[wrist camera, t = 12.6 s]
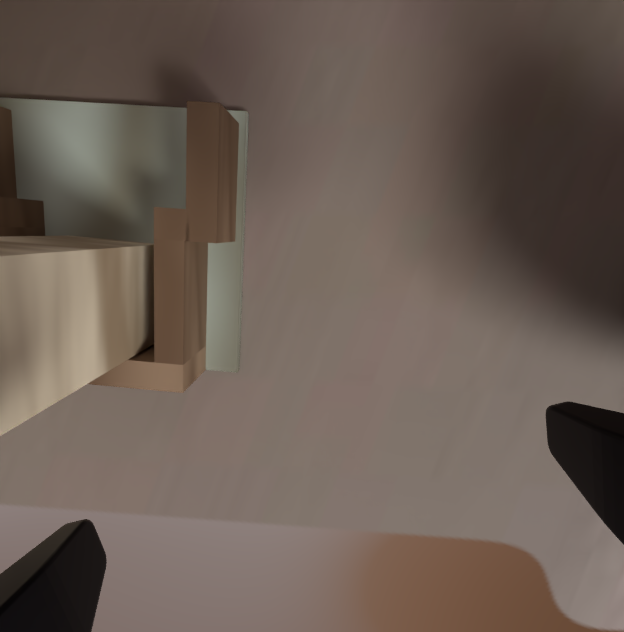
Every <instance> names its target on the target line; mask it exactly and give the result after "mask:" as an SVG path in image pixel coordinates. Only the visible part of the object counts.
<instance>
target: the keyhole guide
mask: <svg viewBox="0 0 624 632" xmlns="http://www.w3.org/2000/svg"><path fill="white" fill-rule="evenodd" d="M247 142H248V113H247V111H232V110H226V109H225V108H224V107H223V106H222V105H221V104H220V103H215V102H196V101H187V108H179V107H161V106H143V105H125V104H107V103H90V102H72V101H54V100H36V99H18V98H0V237H6V236H79V237H90V238H101V239H112V240H123V241H133V242H144V243H154V344H153V345H151V346H150V347H148V348H146V349H145V350H143V351H141V352H140V353H138V354H136V355H135V356H133V357H131V358H130V359H128V360H126V361H125V362H123V363H121V364H120V365H118V366H116V367H115V368H113V369H111V370H110V371H108V372H106V373H105V374H103V375H101V376H100V377H98V378H96V379H95V380H93V381H91V382H90V383H88V384H93V385H104V386H115V387H126V388H136V389H147V390H158V391H169V392H180V393H183V392H184V391H185V390H186V389H187V388H188V387H189V386H190V385H191V384H192V383H193V382H194V381H195V380H196V379H197V378H198V377H199V376H200V375H201V374H202V373H203V372H204V371H205V370H214V371H226V372H238V371H239V362H240V334H241V307H242V279H243V252H244V224H245V197H246V169H247Z"/></svg>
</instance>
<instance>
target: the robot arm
mask: <svg viewBox="0 0 624 632" xmlns="http://www.w3.org/2000/svg"><path fill="white" fill-rule="evenodd" d="M546 426H547V439H548V446H549V449H550V451H551V453H552V455H553V456H554V458H555V459H556V461H557V462H558V463H559V465H560V466H561V467H562V468H563V470H564V471H565V472H566V474H567V475H568V476H569V478H570V479H571V480H572V482H573V483H574V484H575V486H576V487H577V488H578V490H579V491H580V492H581V494H582V495H583V496H584V497H585V499H586V500H587V501H588V503H589V504H590V505H591V507H592V508H593V509H594V511H595V512H596V513H597V514H598V516H599V517H600V518H601V519H602V521H603V522H604V523H605V524H606V525H607V527H608V528H609V529H610V530H611V531H612V532H613V533H614V534H615V536H616V537H617V538H618V539H619V540H620V541H621V542H622V543H623V544H624V413H620V412H615V411H611V410H606V409H601V408H597V407H592V406H588V405H583V404H578V403H574V402H563V403H559V404H555V405H551V406H549V407H548V408H547V410H546ZM105 570H106V554H105V551H104V549H103V546H102V544H101V541H100V539H99V537H98V534H97V532H96V529H95V527H94V525H93V523H92V522H91V521H90V520H87V519H84V520H80V521H76V522H72V523H68V524H65V525H64V526H62V527H61V528H60V529H58V530H57V531H56V532H54V533H53V534H52V535H51V536H49V537H48V538H47V539H45V540H44V541H43V542H41V543H40V544H39V545H38V546H36V547H35V548H34V549H32V550H31V551H30V552H28V553H27V554H26V555H25V556H23V557H22V558H21V559H19V560H18V561H17V562H16V563H14V564H13V565H12V566H11V567H9V568H8V569H6V570H5V571H4V572H3V573H1V574H0V632H91V631H92V626H93V621H94V617H95V613H96V609H97V604H98V600H99V596H100V591H101V587H102V582H103V578H104V574H105Z"/></svg>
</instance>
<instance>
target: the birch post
mask: <svg viewBox="0 0 624 632" xmlns="http://www.w3.org/2000/svg"><path fill="white" fill-rule="evenodd" d="M153 344H154V243H144V242H133V241H123V240H112V239H101V238H90V237H79V236H6V237H0V436H1V435H3V434H5V433H6V432H8V431H10V430H11V429H13V428H15V427H16V426H18V425H20V424H21V423H23V422H25V421H26V420H28V419H30V418H31V417H33V416H35V415H36V414H38V413H40V412H41V411H43V410H45V409H46V408H48V407H50V406H51V405H53V404H55V403H56V402H58V401H60V400H61V399H63V398H65V397H66V396H68V395H70V394H71V393H73V392H75V391H76V390H78V389H80V388H81V387H83V386H85V385H86V384H88V383H90V382H91V381H93V380H95V379H96V378H98V377H100V376H101V375H103V374H105V373H106V372H108V371H110V370H111V369H113V368H115V367H116V366H118V365H120V364H121V363H123V362H125V361H126V360H128V359H130V358H131V357H133V356H135V355H136V354H138V353H140V352H141V351H143V350H145V349H146V348H148V347H150V346H151V345H153Z"/></svg>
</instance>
